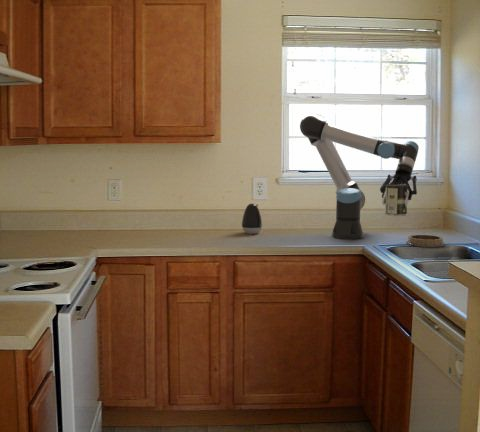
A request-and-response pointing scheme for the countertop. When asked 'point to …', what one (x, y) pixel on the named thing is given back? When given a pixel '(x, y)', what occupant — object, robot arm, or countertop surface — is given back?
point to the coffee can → (396, 200)
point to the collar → (425, 241)
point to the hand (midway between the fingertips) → (394, 203)
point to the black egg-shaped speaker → (252, 219)
